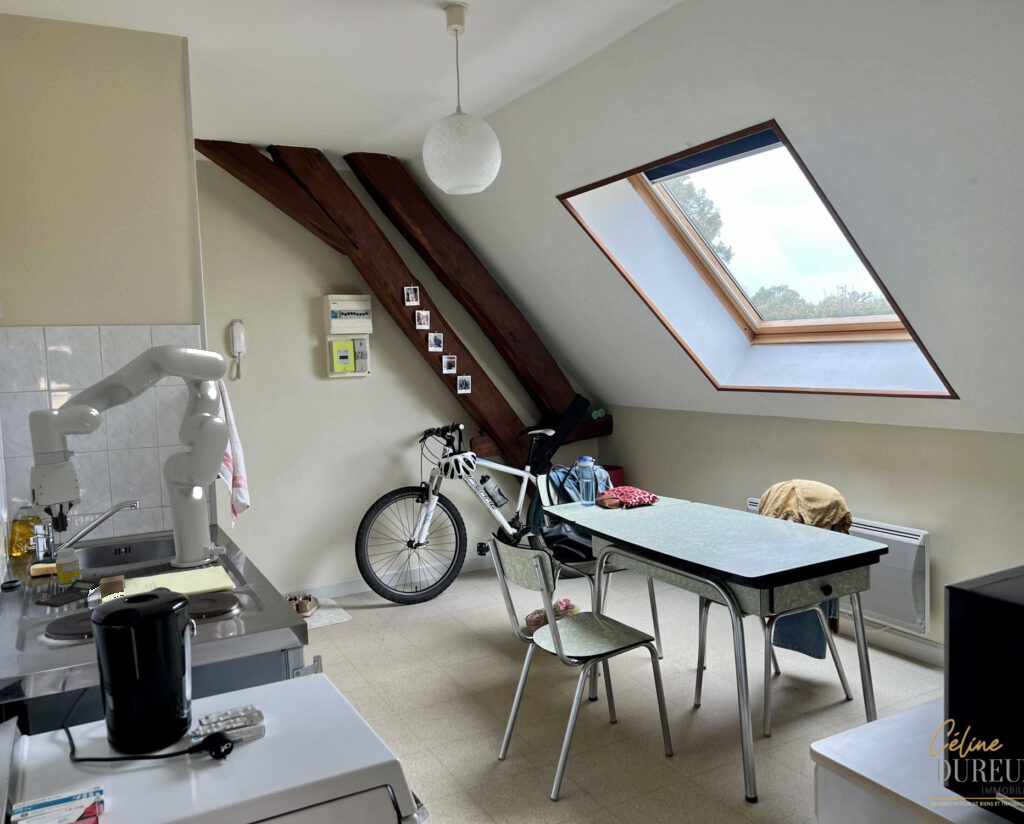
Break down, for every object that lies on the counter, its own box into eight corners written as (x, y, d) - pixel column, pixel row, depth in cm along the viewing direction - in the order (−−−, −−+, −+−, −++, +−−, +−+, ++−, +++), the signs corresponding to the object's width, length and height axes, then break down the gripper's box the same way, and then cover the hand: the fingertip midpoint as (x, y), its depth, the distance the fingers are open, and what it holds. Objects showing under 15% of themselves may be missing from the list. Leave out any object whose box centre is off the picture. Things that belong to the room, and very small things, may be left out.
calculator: (35, 604, 197) (34, 592, 196) (79, 590, 207) (78, 578, 207) (58, 608, 192) (57, 596, 192) (102, 593, 202) (101, 581, 202)
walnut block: (126, 594, 199) (123, 574, 199) (124, 599, 194) (122, 580, 194) (103, 598, 197) (101, 578, 197) (101, 603, 193) (99, 583, 192)
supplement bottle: (80, 585, 210) (75, 550, 209) (57, 589, 208) (52, 553, 207) (82, 580, 215) (78, 545, 214) (60, 584, 213) (55, 549, 212)
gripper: (76, 453, 204) (85, 523, 206) (12, 463, 193) (22, 537, 194) (89, 454, 200) (98, 525, 201) (24, 464, 188) (34, 540, 190)
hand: (60, 531), depth 198 cm, fingers closed
